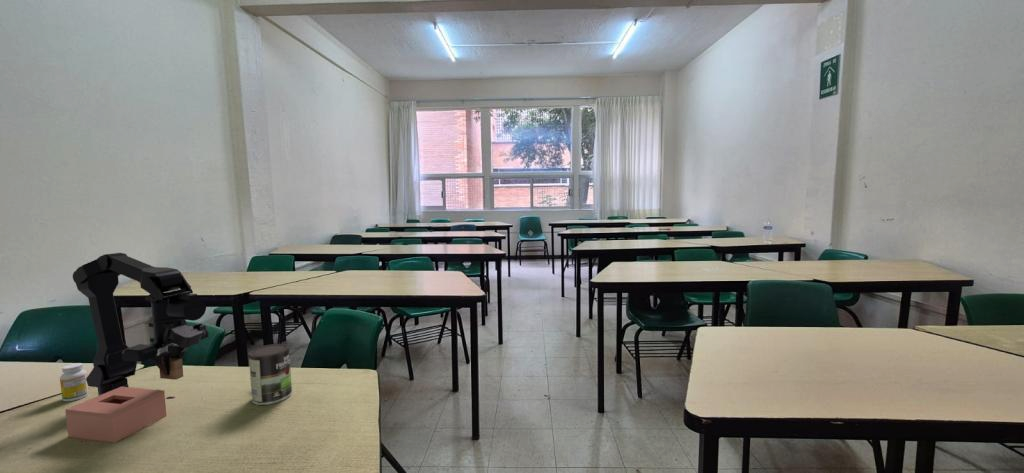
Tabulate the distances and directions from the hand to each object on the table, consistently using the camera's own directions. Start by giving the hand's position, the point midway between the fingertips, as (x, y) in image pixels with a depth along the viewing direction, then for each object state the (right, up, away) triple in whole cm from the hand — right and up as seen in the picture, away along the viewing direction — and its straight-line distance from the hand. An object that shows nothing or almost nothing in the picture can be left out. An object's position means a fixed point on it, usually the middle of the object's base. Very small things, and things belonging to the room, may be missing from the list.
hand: (171, 373), depth 108 cm
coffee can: (+22, -10, +9) cm, 26 cm away
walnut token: (0, -1, 0) cm, 1 cm away
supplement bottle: (-36, -10, +9) cm, 38 cm away
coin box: (-8, -11, -6) cm, 15 cm away
